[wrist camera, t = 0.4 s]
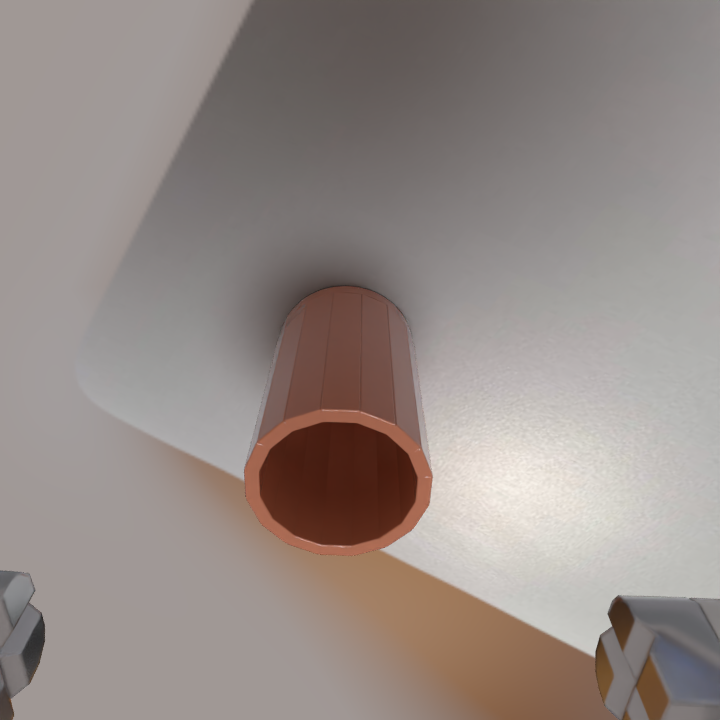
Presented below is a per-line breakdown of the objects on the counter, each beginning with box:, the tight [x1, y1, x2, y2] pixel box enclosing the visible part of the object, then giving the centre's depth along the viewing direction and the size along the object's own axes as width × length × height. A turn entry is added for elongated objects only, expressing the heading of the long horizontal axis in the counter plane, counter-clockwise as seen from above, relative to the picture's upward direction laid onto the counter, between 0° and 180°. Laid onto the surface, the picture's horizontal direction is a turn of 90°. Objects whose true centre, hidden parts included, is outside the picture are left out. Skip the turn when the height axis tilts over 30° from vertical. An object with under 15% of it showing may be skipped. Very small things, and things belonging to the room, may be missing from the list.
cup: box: [244, 286, 433, 556], centre depth 26 cm, size 6×6×10 cm
